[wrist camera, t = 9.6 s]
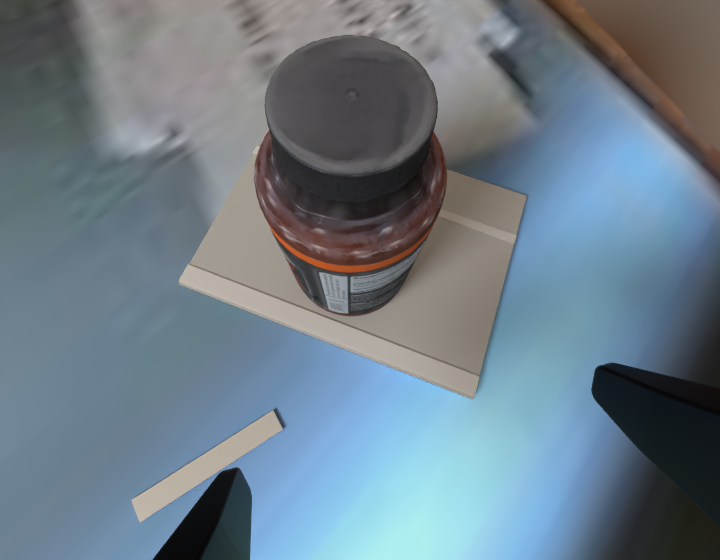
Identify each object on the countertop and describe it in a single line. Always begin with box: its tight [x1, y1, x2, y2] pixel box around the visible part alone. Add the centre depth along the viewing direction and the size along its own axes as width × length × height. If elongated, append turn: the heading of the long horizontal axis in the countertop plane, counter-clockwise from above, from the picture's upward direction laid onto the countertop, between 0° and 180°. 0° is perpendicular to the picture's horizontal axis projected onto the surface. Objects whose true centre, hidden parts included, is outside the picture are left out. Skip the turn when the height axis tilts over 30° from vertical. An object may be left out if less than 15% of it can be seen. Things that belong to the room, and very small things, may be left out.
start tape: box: [131, 410, 283, 522], centre depth 16 cm, size 1×7×1 cm, turn 122°
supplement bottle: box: [254, 35, 447, 316], centre depth 13 cm, size 6×6×11 cm
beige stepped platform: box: [178, 127, 527, 399], centre depth 19 cm, size 16×12×1 cm
